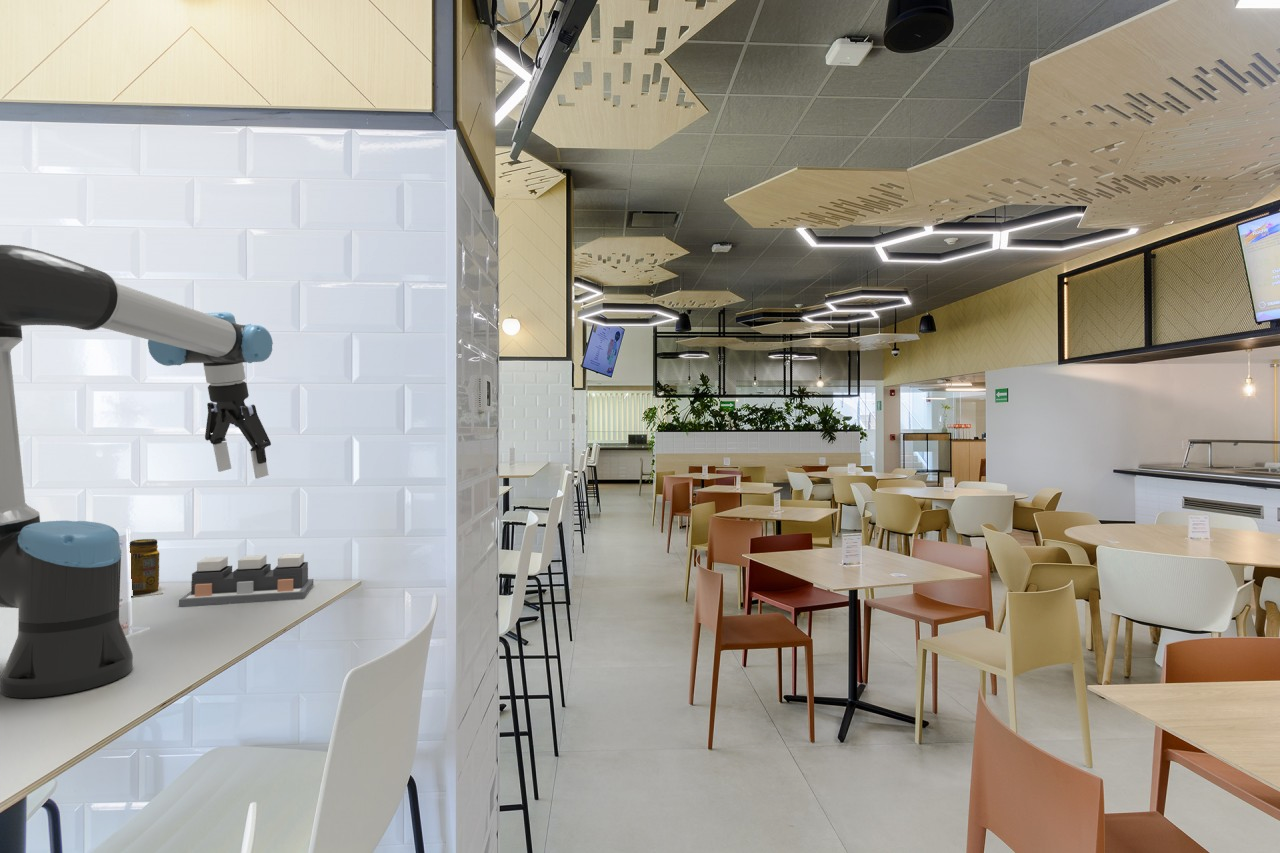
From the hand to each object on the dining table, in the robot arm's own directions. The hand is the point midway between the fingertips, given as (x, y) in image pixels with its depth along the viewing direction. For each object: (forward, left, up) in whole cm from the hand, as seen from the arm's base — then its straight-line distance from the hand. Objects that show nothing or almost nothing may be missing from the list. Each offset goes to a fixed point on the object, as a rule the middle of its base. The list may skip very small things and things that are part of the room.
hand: (243, 473), depth 155 cm
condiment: (-18, +14, -28) cm, 36 cm away
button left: (-6, +1, -21) cm, 22 cm away
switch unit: (+1, -3, -28) cm, 28 cm away
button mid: (+2, -2, -21) cm, 21 cm away
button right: (+9, -4, -21) cm, 24 cm away
